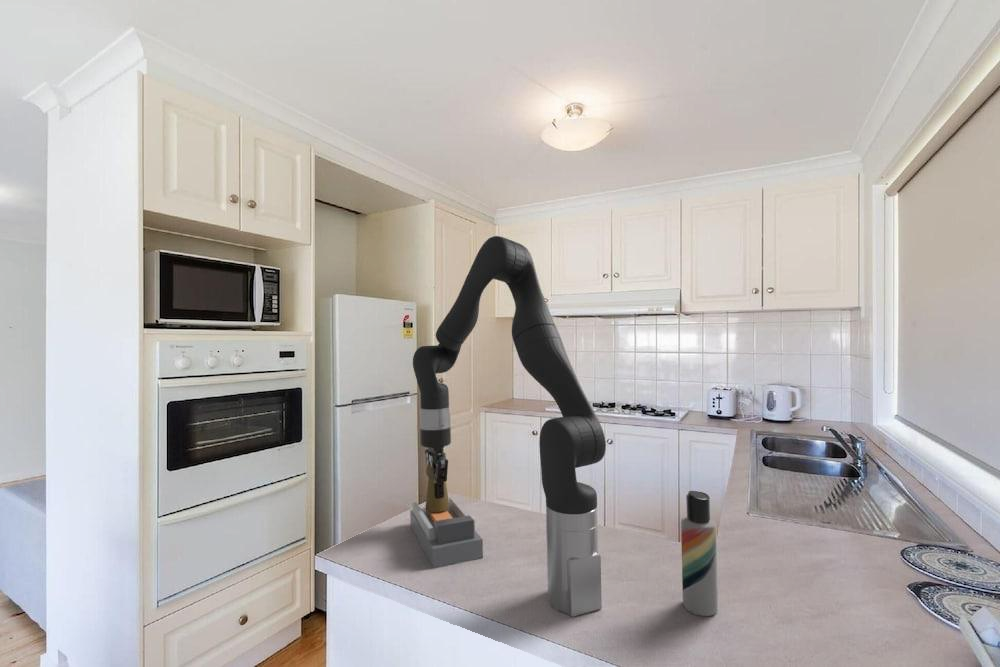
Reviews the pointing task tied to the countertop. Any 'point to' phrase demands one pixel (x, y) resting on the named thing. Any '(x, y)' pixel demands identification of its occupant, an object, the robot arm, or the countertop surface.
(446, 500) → the olive pawn figure
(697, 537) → the lotion bottle
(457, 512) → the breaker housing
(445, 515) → the lever
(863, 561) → the countertop surface
